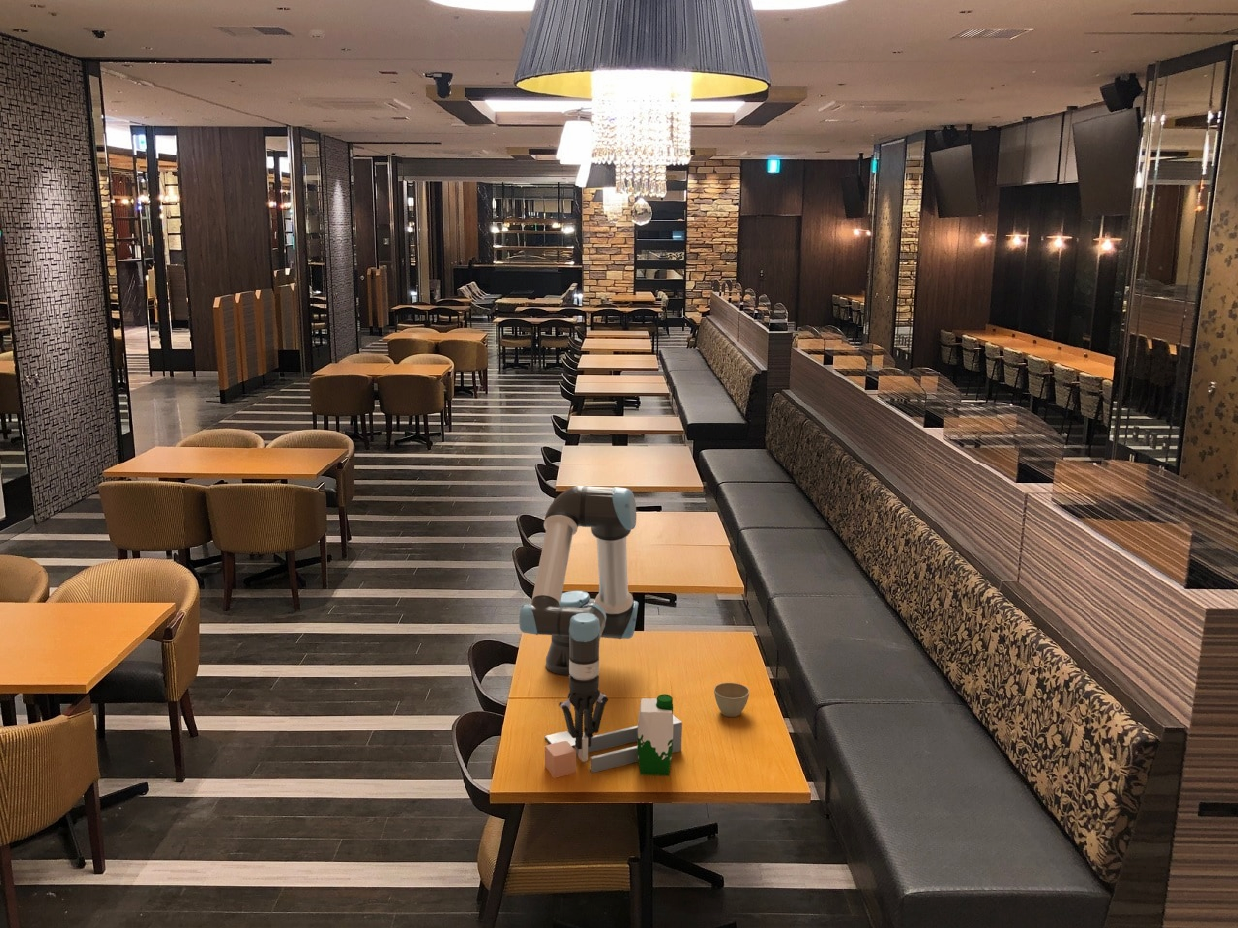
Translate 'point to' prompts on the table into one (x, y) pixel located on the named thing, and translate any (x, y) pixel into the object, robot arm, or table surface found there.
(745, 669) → the table surface
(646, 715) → the milk carton
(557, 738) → the coaster
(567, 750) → the block
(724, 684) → the flower pot
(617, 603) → the robot arm
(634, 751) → the chute
